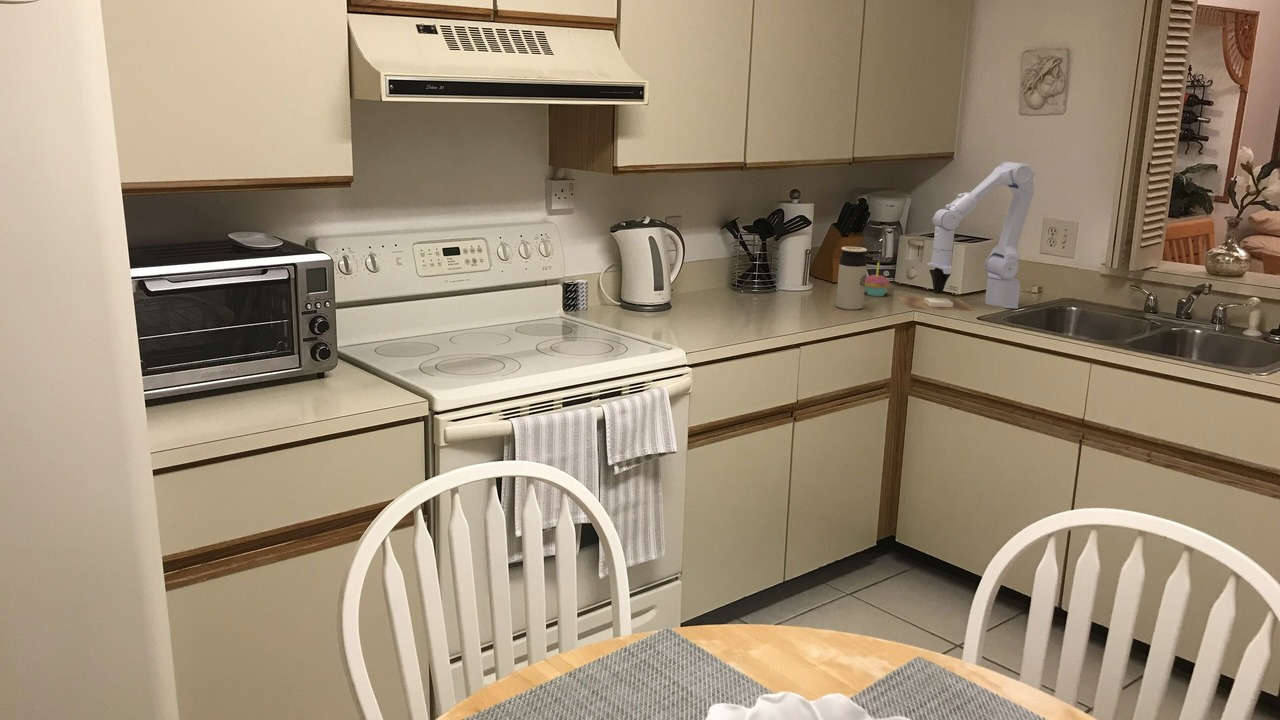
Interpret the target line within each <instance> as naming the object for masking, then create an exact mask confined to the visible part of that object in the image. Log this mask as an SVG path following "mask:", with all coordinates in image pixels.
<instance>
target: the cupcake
mask: <svg viewBox="0 0 1280 720" xmlns="http://www.w3.org/2000/svg"><path fill="white" fill-rule="evenodd" d="M876 264H877V265H876V272H875V273H876V274H871V275H867V277H866V276H865V287H864V288H865V289H866V294H867V295H868V296H872V297H883V296H885V294H886V291H887V290H888V288H890V287H891V281H890V280H889V279H888V278H887V277H886V276H883V275H880V274H879V273H880V260H878V262H877V263H876Z"/></svg>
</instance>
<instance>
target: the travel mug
mask: <svg viewBox="0 0 1280 720" xmlns="http://www.w3.org/2000/svg"><path fill="white" fill-rule="evenodd" d="M841 250H842V253H841V256H840V257H839V263H838V264H839V265H838V273H837V274H838V275H837V287H836V298H835V299H836V300H835V306H836V307H837V308H839V309H841V310H847V311H848V310H849V311H850V310H851V311H856V310H861V309H862V308H864V298H865V297H864V296H865V288H866V287H865V278H866V274H867V273H866V272H867V263H868V260H867V257H866V253H867V252H868V249H867V248H865V247H861V246H842V247H841Z"/></svg>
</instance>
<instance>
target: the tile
mask: <svg viewBox="0 0 1280 720" xmlns="http://www.w3.org/2000/svg"><path fill="white" fill-rule="evenodd" d="M923 298H924V303H925V304H927V305H928V306H930V307H946V308H952V307H953V302H951V301H950V300H948V299H946V297H944V298H943V297H941V298H940V297H923Z"/></svg>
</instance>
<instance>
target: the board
mask: <svg viewBox="0 0 1280 720" xmlns="http://www.w3.org/2000/svg"><path fill="white" fill-rule="evenodd" d="M896 298H897V299H898V300H899V301H901V302H902V303H903V304H904V305H906V306H907V307H908V308H910V309H912V310H936V311H938V310H939V311H940V310H941V311H969V312H972V311H973V312H975V311H976V312H978V310H977V308H975V307H974V306H973V307H972V306H971V305H969V304H968V303H966V302H965V301H963V300H962V299H960V298H949V297H948V298H946V297H945V298H946V299H948V300H950V301H951V302H953V307H952V308H946V307H930V306H928V305H927V304H925V303H924V298H925V297H917V296H916V297H914V296H911V297H909V296H896Z"/></svg>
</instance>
